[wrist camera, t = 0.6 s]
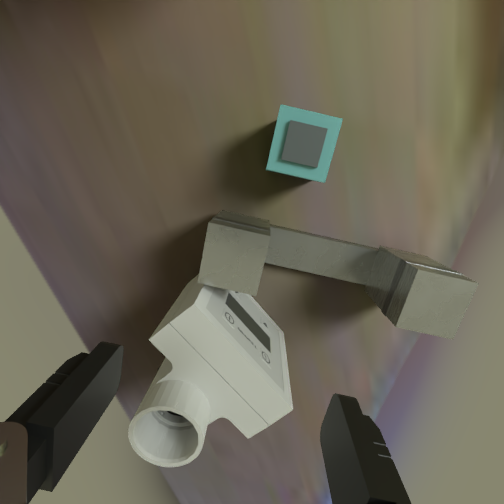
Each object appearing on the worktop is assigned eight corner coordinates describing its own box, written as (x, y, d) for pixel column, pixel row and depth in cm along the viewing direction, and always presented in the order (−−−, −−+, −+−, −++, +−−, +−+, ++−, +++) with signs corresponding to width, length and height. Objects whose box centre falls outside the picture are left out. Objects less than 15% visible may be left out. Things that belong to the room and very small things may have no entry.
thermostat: (284, 332, 36) (297, 440, 21) (199, 392, 39) (160, 523, 24) (218, 258, 34) (183, 322, 19) (133, 327, 37) (47, 428, 22)
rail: (224, 207, 32) (207, 221, 23) (419, 252, 33) (479, 282, 23) (215, 253, 34) (196, 283, 24) (402, 295, 34) (453, 340, 25)
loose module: (277, 119, 30) (281, 103, 23) (325, 131, 30) (344, 117, 23) (265, 170, 31) (266, 169, 24) (311, 180, 31) (325, 182, 24)
